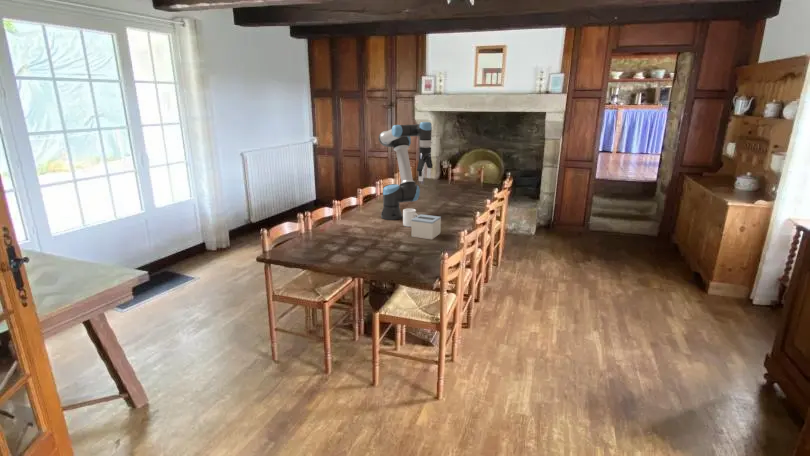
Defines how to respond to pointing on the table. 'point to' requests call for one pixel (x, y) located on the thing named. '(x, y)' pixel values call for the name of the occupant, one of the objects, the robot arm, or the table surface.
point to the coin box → (426, 226)
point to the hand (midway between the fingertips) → (424, 179)
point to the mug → (408, 217)
